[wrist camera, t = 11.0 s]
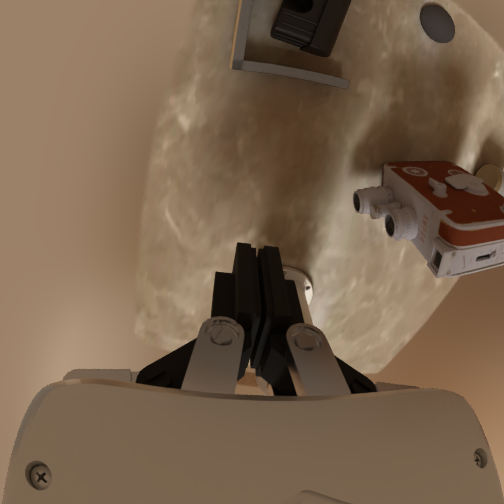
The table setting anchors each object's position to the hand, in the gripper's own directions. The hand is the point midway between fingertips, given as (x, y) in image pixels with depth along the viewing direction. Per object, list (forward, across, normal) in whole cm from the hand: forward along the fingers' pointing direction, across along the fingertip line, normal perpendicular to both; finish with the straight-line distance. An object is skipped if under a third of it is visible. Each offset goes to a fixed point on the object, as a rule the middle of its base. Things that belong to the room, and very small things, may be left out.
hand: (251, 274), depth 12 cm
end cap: (+30, -5, -18) cm, 35 cm away
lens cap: (+30, -24, -26) cm, 46 cm away
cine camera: (+30, -25, +1) cm, 39 cm away
